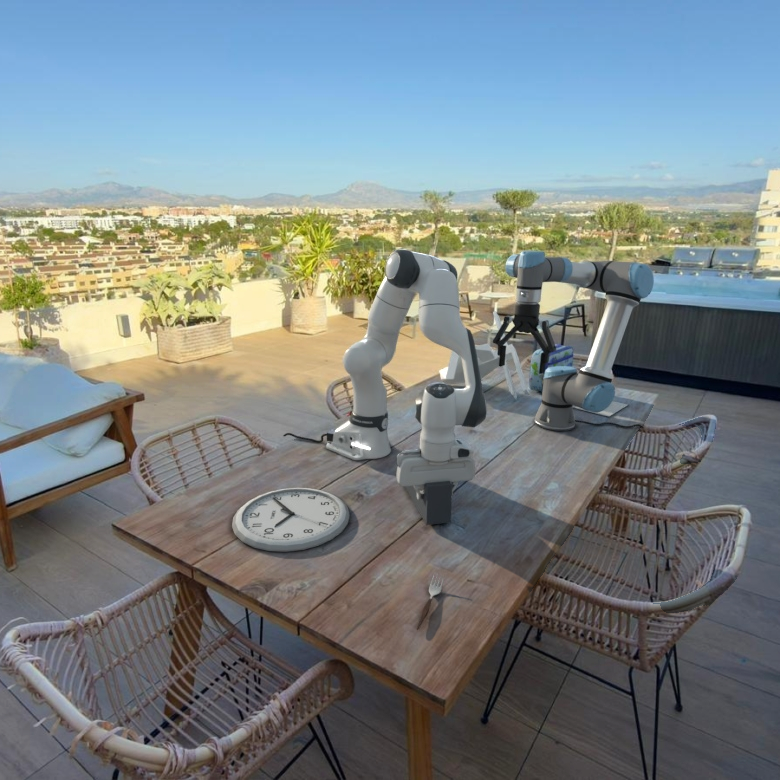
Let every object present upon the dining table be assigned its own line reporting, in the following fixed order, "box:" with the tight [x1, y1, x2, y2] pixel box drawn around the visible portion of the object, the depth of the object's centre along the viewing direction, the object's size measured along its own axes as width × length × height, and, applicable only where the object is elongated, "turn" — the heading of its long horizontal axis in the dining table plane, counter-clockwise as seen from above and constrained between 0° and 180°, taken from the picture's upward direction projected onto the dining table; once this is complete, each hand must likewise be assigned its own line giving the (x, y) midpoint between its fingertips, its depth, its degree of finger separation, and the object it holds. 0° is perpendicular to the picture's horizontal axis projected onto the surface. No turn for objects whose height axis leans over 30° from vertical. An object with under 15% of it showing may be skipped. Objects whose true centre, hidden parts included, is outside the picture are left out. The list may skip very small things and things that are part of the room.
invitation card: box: [573, 400, 629, 418], centre depth 226 cm, size 21×1×15 cm
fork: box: [416, 572, 445, 631], centre depth 105 cm, size 3×16×2 cm, turn 160°
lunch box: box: [528, 344, 574, 393], centre depth 247 cm, size 26×11×21 cm, turn 134°
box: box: [402, 449, 453, 526], centre depth 143 cm, size 25×6×11 cm, turn 13°
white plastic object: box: [438, 310, 531, 400], centre depth 245 cm, size 37×45×31 cm
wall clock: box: [231, 487, 351, 553], centre depth 136 cm, size 30×2×30 cm
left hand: (434, 497), depth 135 cm, fingers closed on box, 6 cm apart
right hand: (521, 369), depth 167 cm, fingers open, 13 cm apart
